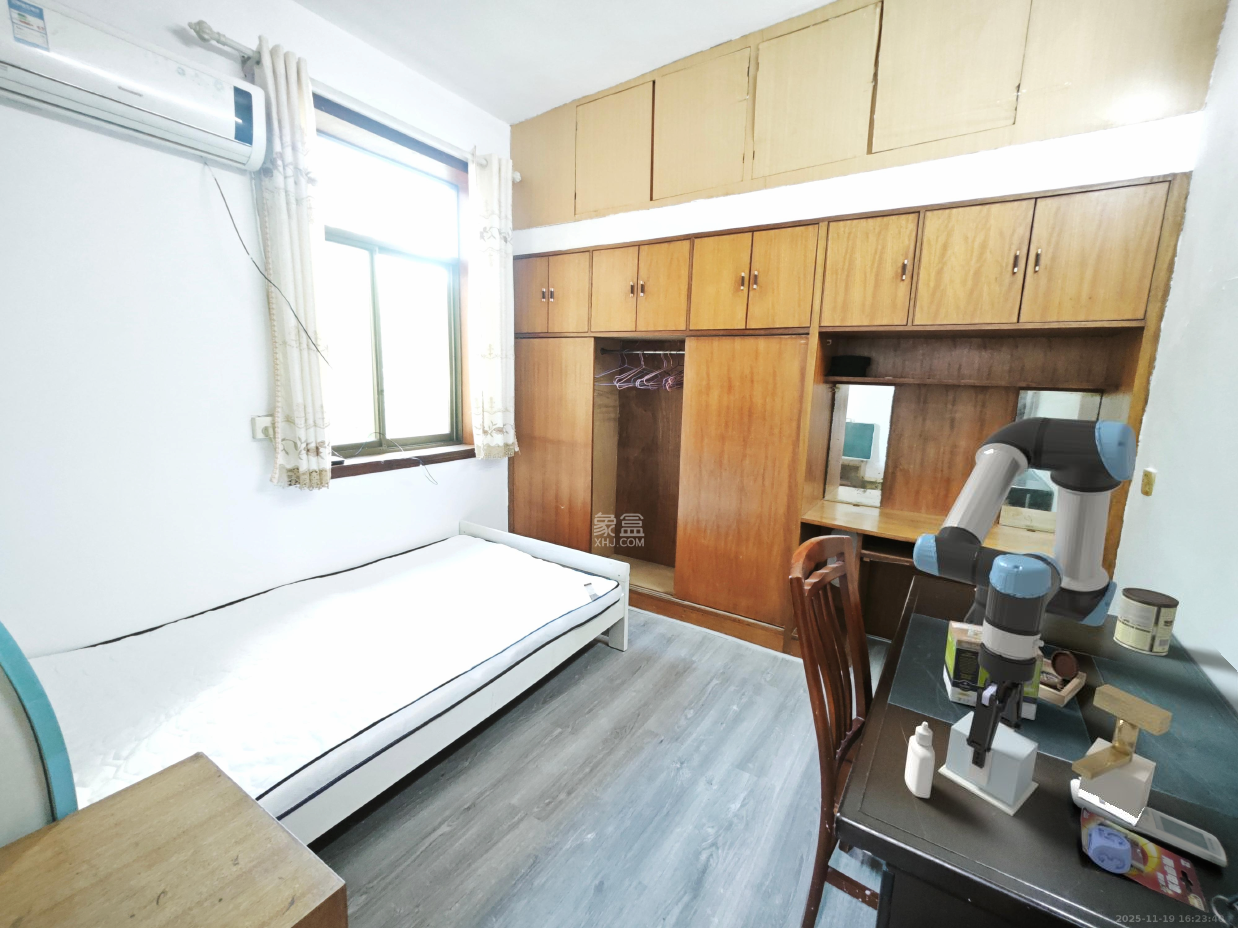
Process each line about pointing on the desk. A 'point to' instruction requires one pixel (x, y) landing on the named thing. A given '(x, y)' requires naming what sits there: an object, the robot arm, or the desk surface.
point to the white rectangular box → (1122, 782)
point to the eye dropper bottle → (920, 762)
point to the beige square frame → (1067, 692)
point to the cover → (995, 760)
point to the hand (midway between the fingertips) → (988, 769)
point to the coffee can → (1145, 621)
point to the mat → (986, 795)
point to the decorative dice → (1109, 849)
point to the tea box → (978, 669)
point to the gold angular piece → (1122, 730)
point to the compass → (1060, 670)
